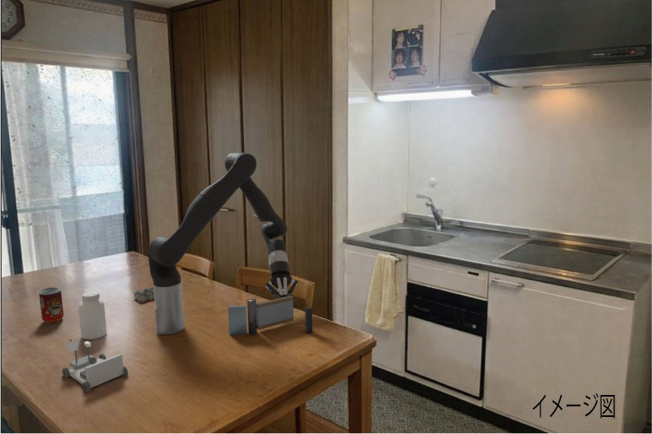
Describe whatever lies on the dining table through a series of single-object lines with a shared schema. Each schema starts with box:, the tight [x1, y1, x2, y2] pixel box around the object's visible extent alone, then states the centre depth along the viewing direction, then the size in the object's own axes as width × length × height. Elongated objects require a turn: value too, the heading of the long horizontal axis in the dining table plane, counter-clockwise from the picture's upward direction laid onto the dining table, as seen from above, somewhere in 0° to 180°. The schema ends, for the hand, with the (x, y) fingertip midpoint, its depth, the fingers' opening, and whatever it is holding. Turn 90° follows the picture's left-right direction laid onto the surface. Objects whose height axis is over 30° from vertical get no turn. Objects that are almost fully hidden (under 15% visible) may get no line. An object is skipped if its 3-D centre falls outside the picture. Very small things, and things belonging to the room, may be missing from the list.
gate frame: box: [227, 298, 314, 336], centre depth 164 cm, size 29×3×12 cm, turn 92°
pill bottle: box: [78, 291, 107, 340], centre depth 162 cm, size 8×8×15 cm
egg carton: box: [133, 286, 154, 303], centre depth 200 cm, size 11×8×4 cm
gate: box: [256, 295, 294, 331], centre depth 168 cm, size 14×1×9 cm, turn 124°
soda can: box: [38, 286, 64, 325], centre depth 175 cm, size 7×7×12 cm
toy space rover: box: [61, 339, 129, 393], centre depth 137 cm, size 18×10×12 cm
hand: (284, 305), depth 176 cm, fingers closed
